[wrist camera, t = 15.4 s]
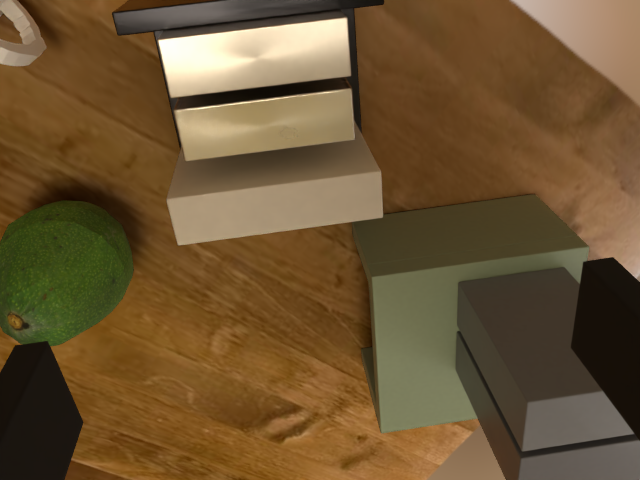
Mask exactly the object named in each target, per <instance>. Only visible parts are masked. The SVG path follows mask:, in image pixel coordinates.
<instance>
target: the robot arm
mask: <svg viewBox="0 0 640 480" xmlns="http://www.w3.org/2000/svg"><path fill="white" fill-rule="evenodd" d="M571 349H572V350H573V351H574V353H575V354H576V356H577V357H578V358H579V360H580V361H581V362H582V364H583V365H584V366H585V368H586V369H587V370H588V372H589V373H590V374H591V376H592V377H593V378H594V380H595V381H596V382H597V384H598V385H599V387H600V388H601V389H602V391H603V392H604V393H605V395H606V396H607V397H608V399H609V400H610V401H611V403H612V404H613V405H614V407H615V408H616V409H617V411H618V412H619V414H620V415H621V416H622V418H623V419H624V420H625V422H626V423H627V424H628V426H629V427H630V428H631V430H632V431H633V432H634V434H635V435H636V436H637V438H638V439H639V440H640V282H639V281H638V280H637V279H636V278H635V277H634V276H633V275H631V274H630V273H629V272H628V271H627V270H626V269H625V268H624V267H623V266H622V265H621V264H620V263H619V262H618V261H617V260H616V259H614V258H613V257H612V258H605V259H598V260H592V261H585V262H583V266H582V273H581V280H580V287H579V293H578V300H577V307H576V314H575V321H574V328H573V335H572V342H571ZM82 425H83V420H82V418H81V416H80V414H79V411H78V409H77V407H76V404H75V402H74V400H73V398H72V395H71V393H70V391H69V388H68V386H67V384H66V382H65V379H64V377H63V375H62V372H61V370H60V368H59V366H58V363H57V361H56V359H55V356H54V354H53V352H52V350H51V347H50V345H49V343H48V341H43V342H36V343H29V344H23V345H16V346H15V347H14V349H13V350H12V352H11V354H10V356H9V358H8V360H7V361H6V363H5V365H4V367H3V369H2V370H1V372H0V480H64V479H65V476H66V473H67V470H68V467H69V464H70V461H71V458H72V455H73V452H74V449H75V446H76V443H77V440H78V437H79V434H80V431H81V428H82Z"/></svg>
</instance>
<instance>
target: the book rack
mask: <svg viewBox="0 0 640 480" xmlns="http://www.w3.org/2000/svg"><path fill="white" fill-rule="evenodd" d="M383 4H384V0H129V1H127V2H126V3H125V4H123V5H122V6H121V7H119V8H118V9H116V10H115V11H114V12H112V15H113V19H114V23H115V27H116V31H117V34H118V35H119V36H121V35H130V34H138V33H147V32H154V36H155V41H156V45H157V49H158V54H159V58H160V63H161V67H162V71H163V76H164V80H165V85H166V89H167V93H168V98H169V102H170V107H171V111H172V115H173V120H174V124H175V128H176V133H177V137H178V142H179V146H180V149H181V147H182V151H183V156H184V160H185V162H189V161H197V160H205V159H213V158H220V157H228V156H236V155H244V154H251V153H259V152H267V151H275V150H283V149H290V148H298V147H306V146H314V145H321V144H329V143H337V142H345V141H352V140H355V124H354V121H355V123H356V125H357V126H358V128H359V130H360V132H361V134H362V131H361V115H360V98H359V81H358V65H357V48H356V31H355V15H354V8H360V7H369V6H377V5H383Z"/></svg>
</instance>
